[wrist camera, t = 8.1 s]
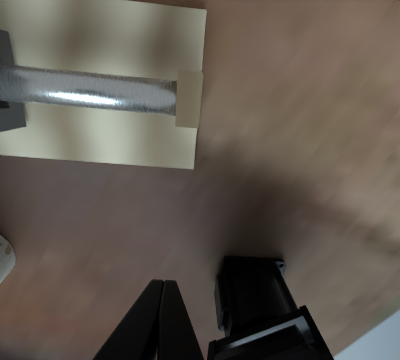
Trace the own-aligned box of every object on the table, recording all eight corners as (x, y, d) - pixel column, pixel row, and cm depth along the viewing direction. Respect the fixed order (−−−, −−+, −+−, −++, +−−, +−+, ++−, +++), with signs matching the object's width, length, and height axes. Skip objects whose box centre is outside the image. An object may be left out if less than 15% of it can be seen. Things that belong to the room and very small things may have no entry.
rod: (201, 80, 14) (203, 78, 12) (198, 119, 15) (199, 123, 13) (-102, 50, 13) (-161, 42, 11) (-87, 94, 14) (-139, 94, 12)
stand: (205, 13, 15) (211, -20, 11) (193, 166, 19) (193, 190, 15) (-76, -19, 14) (-205, -72, 10) (-27, 149, 18) (-102, 169, 14)
